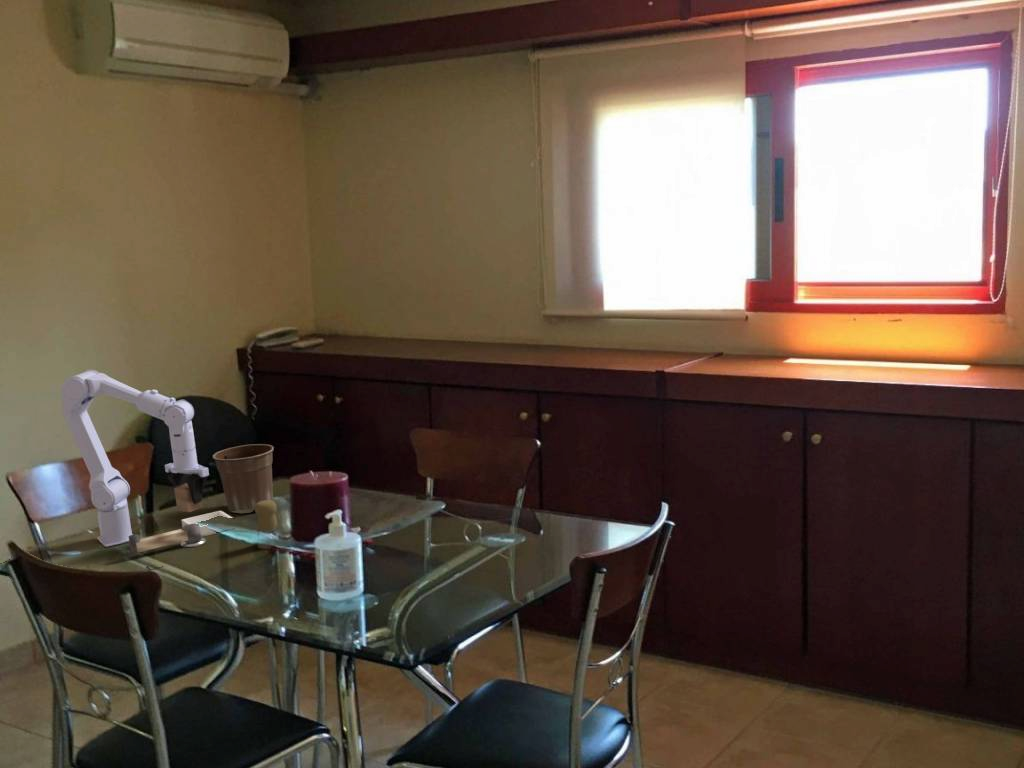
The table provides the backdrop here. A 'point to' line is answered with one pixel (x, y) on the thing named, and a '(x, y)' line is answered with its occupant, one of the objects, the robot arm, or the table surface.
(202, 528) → the tray
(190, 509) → the block
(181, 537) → the crank
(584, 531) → the table surface
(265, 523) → the cork
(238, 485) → the plant pot
